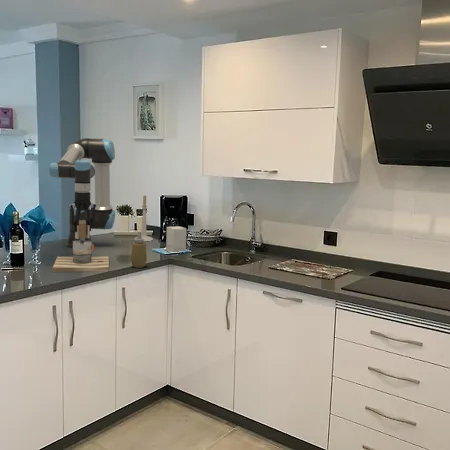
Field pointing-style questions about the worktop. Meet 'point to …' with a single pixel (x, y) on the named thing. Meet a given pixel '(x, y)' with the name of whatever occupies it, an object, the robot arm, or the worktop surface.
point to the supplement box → (176, 239)
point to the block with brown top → (82, 241)
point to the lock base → (81, 264)
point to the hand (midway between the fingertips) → (82, 238)
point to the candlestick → (144, 223)
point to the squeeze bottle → (138, 252)
